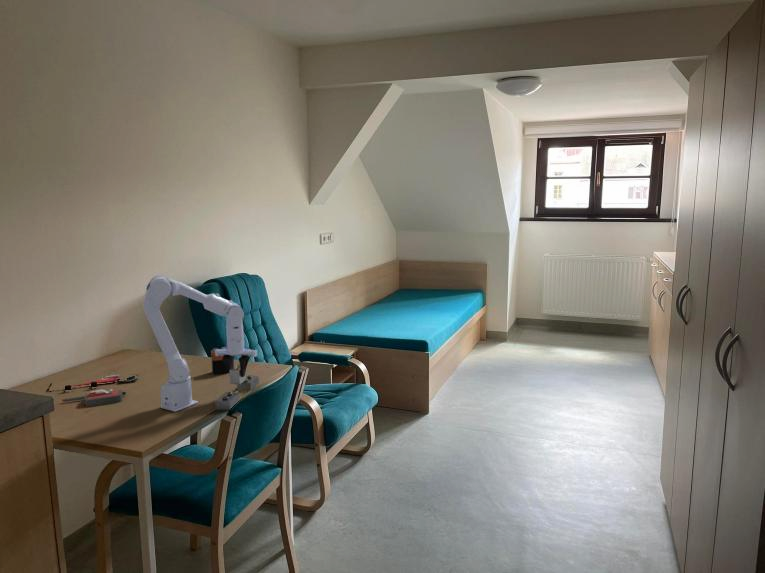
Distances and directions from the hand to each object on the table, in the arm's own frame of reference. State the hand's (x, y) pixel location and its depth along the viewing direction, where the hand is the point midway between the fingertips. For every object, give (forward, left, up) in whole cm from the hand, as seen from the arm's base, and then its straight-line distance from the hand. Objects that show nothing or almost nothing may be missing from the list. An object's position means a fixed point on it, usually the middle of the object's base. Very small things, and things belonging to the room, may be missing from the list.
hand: (237, 375), depth 194 cm
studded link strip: (0, 0, -7) cm, 7 cm away
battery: (+16, +27, -8) cm, 32 cm away
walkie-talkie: (-29, +40, -8) cm, 50 cm away
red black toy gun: (-18, +59, -8) cm, 62 cm away
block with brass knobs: (0, 0, -2) cm, 2 cm away
